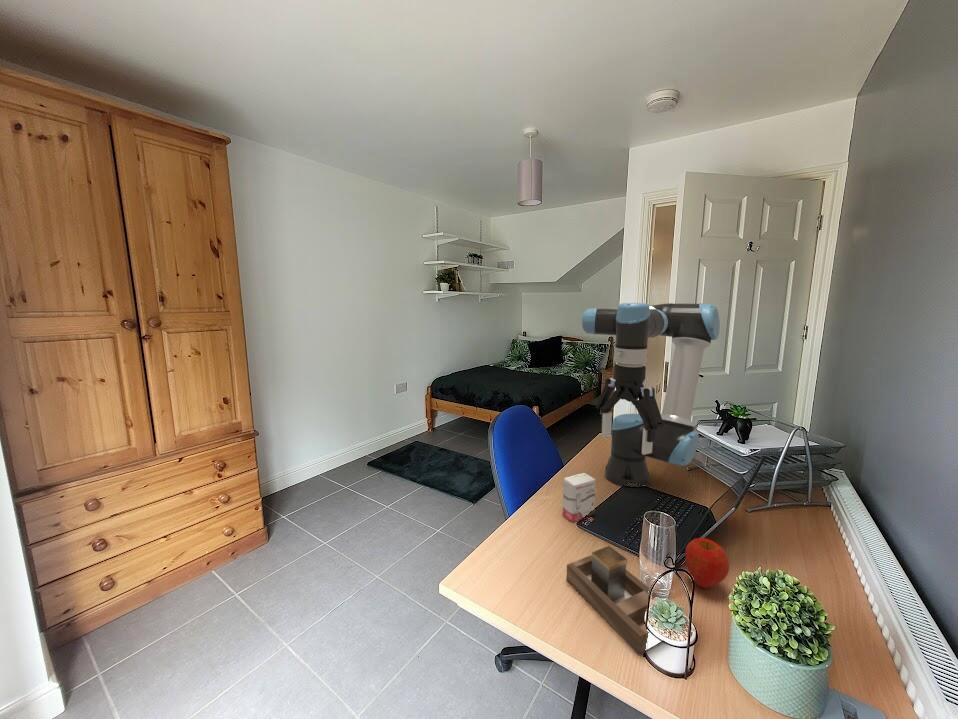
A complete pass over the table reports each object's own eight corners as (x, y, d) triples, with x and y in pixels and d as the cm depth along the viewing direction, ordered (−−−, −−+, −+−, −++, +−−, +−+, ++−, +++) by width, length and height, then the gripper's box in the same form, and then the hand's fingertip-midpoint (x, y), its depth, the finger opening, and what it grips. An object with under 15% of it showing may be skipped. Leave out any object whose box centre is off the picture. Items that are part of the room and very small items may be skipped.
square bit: (607, 580, 88) (609, 545, 87) (625, 596, 84) (627, 559, 82) (590, 588, 86) (591, 552, 84) (607, 605, 81) (609, 567, 80)
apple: (735, 595, 84) (740, 551, 82) (703, 604, 82) (708, 558, 80) (703, 569, 92) (707, 528, 90) (674, 575, 90) (677, 534, 88)
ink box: (572, 523, 111) (573, 485, 109) (561, 514, 115) (562, 478, 113) (594, 515, 115) (596, 478, 113) (583, 507, 119) (585, 472, 117)
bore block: (602, 565, 94) (603, 550, 93) (679, 632, 75) (681, 614, 74) (566, 580, 89) (566, 564, 88) (639, 655, 70) (640, 636, 70)
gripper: (584, 358, 106) (582, 431, 110) (662, 374, 84) (655, 465, 88) (605, 356, 109) (601, 427, 113) (684, 371, 87) (677, 459, 91)
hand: (625, 443), depth 100 cm, fingers open, 13 cm apart
